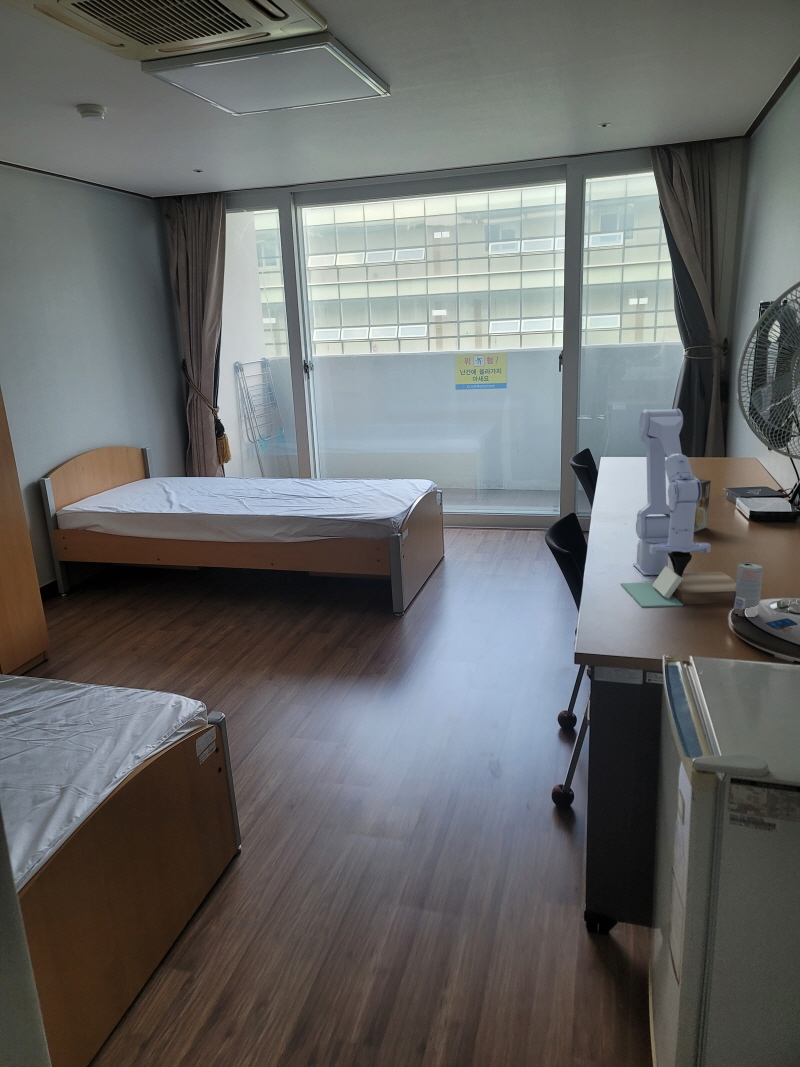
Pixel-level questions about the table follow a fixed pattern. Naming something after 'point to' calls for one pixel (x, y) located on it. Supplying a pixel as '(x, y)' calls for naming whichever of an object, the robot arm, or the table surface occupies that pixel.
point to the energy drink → (748, 585)
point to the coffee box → (702, 506)
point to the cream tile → (667, 582)
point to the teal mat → (649, 595)
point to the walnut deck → (705, 588)
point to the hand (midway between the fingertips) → (677, 580)
